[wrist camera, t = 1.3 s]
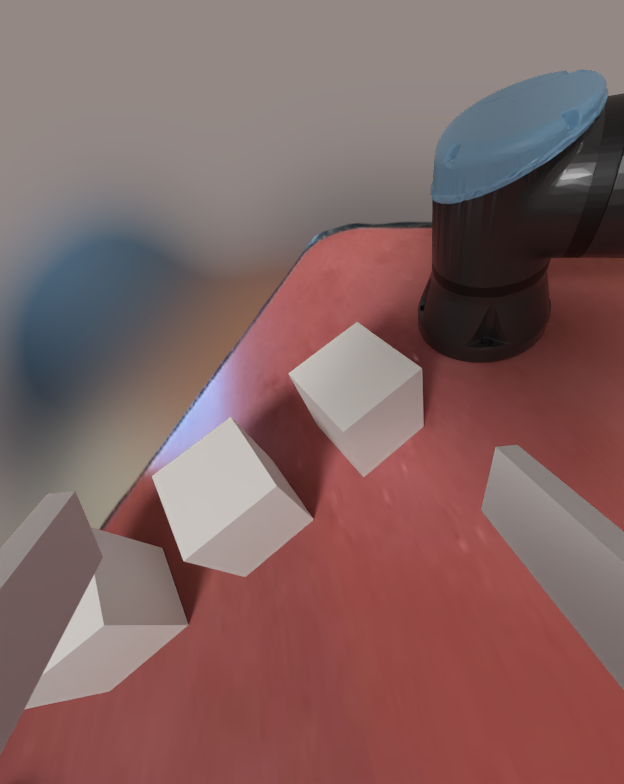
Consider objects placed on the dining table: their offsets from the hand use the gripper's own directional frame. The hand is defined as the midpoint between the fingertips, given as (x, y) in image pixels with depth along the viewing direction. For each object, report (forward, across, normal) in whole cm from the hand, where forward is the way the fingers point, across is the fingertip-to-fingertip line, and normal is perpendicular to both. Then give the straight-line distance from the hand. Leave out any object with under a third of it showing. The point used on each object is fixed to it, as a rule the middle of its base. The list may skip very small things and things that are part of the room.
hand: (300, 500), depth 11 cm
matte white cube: (+25, +10, -13) cm, 30 cm away
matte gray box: (+16, -17, -28) cm, 36 cm away
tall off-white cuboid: (+21, -4, -20) cm, 29 cm away
